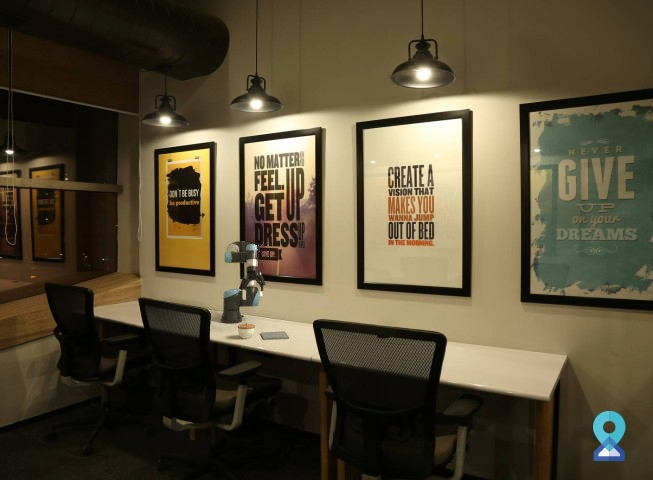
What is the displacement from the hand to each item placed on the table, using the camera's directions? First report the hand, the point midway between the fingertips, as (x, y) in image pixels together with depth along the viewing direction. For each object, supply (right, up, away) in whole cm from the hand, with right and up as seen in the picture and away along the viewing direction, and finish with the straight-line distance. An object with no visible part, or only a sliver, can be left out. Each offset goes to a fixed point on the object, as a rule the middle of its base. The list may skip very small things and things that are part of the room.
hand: (252, 297), depth 314 cm
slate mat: (+16, -23, -10) cm, 30 cm away
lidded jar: (-2, -23, -14) cm, 28 cm away
